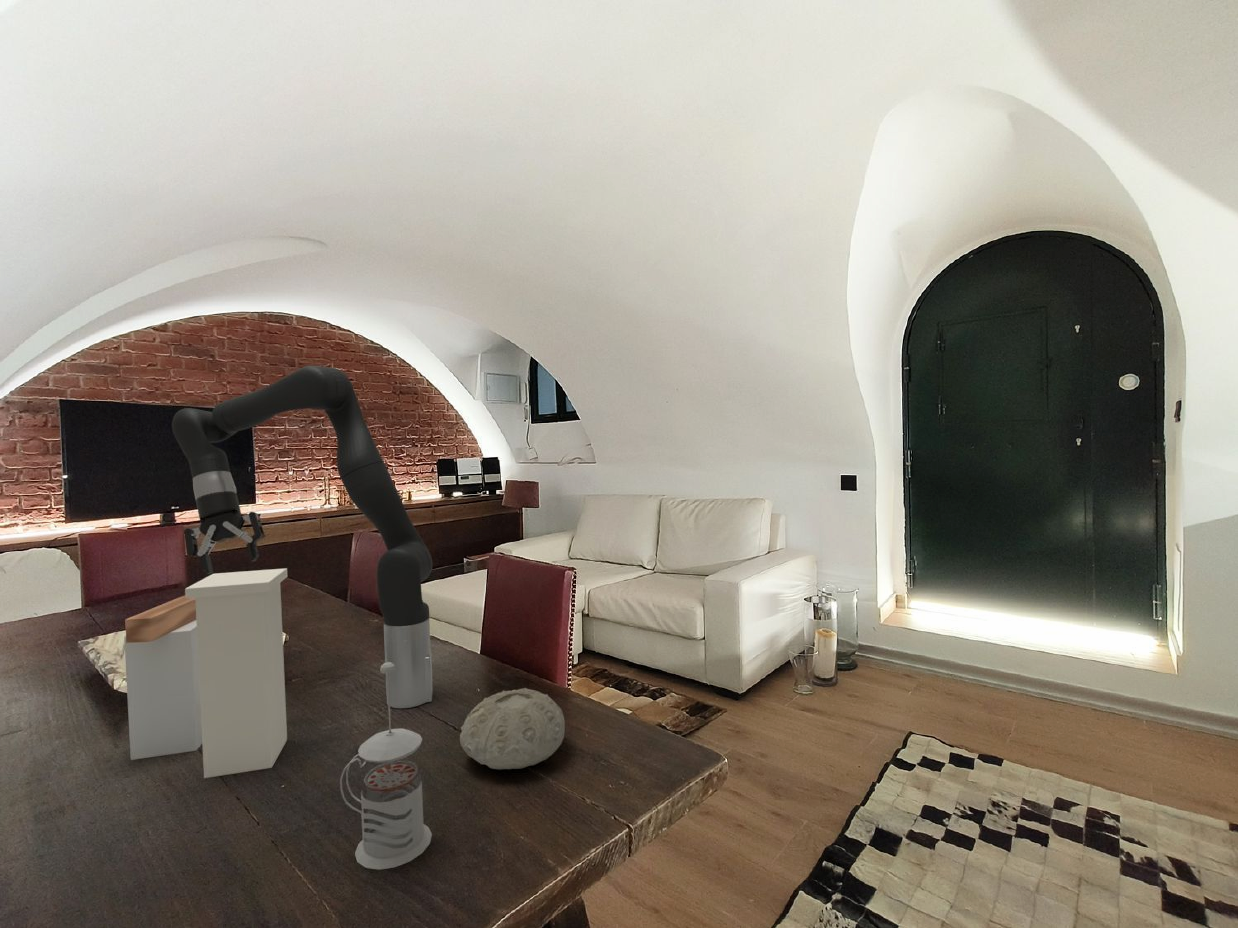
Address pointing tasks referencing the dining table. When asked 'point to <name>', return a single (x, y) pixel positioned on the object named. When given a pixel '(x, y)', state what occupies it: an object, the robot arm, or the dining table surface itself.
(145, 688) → the grey block
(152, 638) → the terracotta bar
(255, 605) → the cream stand
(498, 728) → the decorative shell
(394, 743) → the french press
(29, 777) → the dining table surface
